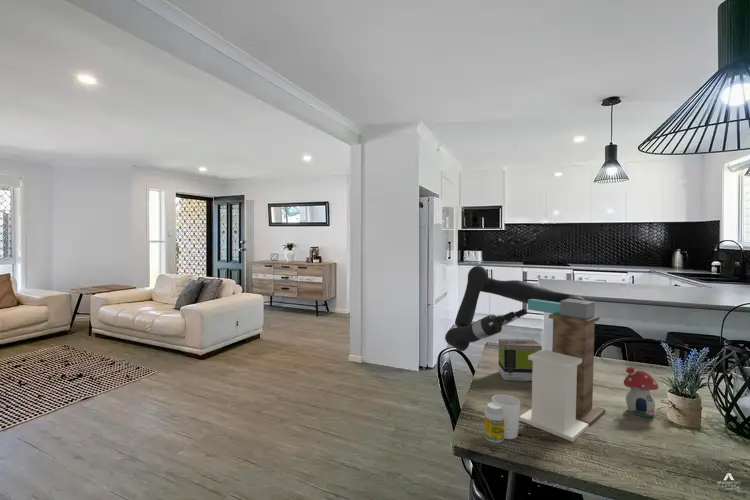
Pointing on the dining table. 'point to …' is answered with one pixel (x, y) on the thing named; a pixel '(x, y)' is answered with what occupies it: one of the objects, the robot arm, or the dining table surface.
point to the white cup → (509, 414)
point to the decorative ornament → (640, 393)
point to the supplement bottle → (494, 423)
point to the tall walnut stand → (579, 342)
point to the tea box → (516, 358)
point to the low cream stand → (554, 395)
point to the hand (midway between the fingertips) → (520, 312)
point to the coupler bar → (565, 307)
